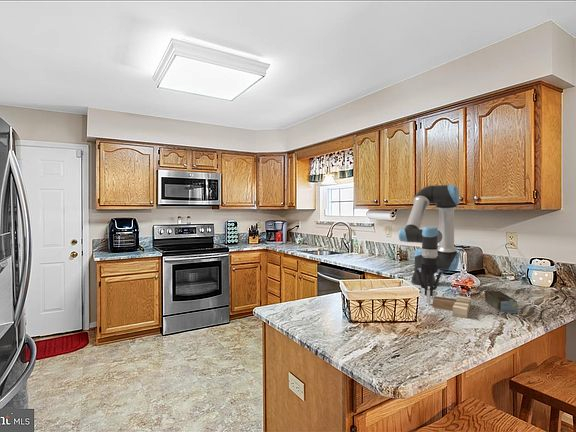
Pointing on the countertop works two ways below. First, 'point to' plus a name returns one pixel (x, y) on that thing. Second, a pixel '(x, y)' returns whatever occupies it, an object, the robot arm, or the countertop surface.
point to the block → (443, 303)
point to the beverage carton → (501, 301)
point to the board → (461, 306)
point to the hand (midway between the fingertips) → (428, 301)
